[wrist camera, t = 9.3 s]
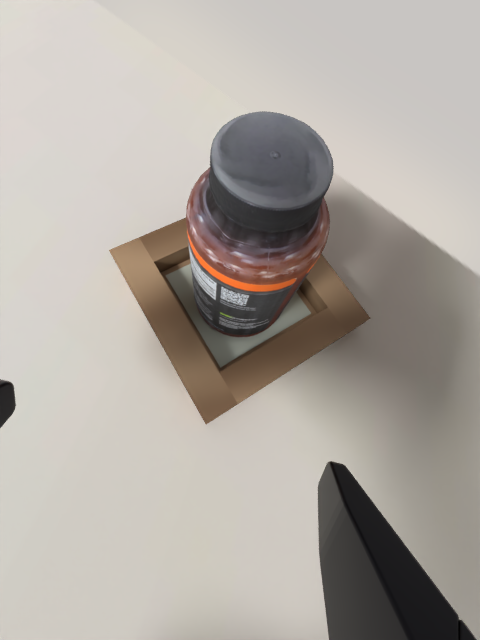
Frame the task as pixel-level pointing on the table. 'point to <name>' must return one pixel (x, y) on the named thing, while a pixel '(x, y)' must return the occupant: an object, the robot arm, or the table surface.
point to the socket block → (222, 350)
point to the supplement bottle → (257, 220)
